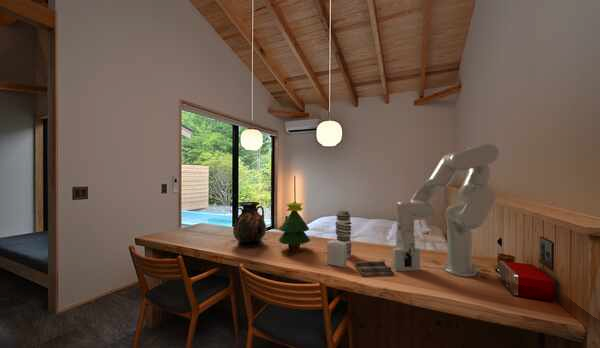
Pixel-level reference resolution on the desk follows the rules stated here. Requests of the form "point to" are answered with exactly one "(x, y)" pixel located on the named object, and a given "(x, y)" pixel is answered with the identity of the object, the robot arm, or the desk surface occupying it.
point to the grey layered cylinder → (344, 229)
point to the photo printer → (336, 253)
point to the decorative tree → (294, 228)
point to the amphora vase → (249, 225)
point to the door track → (373, 269)
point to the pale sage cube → (400, 260)
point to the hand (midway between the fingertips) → (406, 264)
